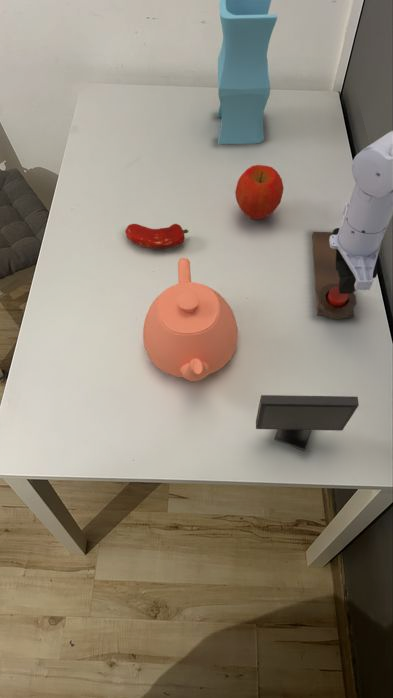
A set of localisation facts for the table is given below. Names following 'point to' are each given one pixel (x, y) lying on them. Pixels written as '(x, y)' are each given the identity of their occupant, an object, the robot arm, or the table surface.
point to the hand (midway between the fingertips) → (344, 280)
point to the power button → (336, 297)
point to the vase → (244, 69)
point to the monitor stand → (293, 437)
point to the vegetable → (156, 236)
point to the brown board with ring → (328, 278)
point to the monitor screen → (305, 412)
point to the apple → (259, 191)
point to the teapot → (189, 329)
